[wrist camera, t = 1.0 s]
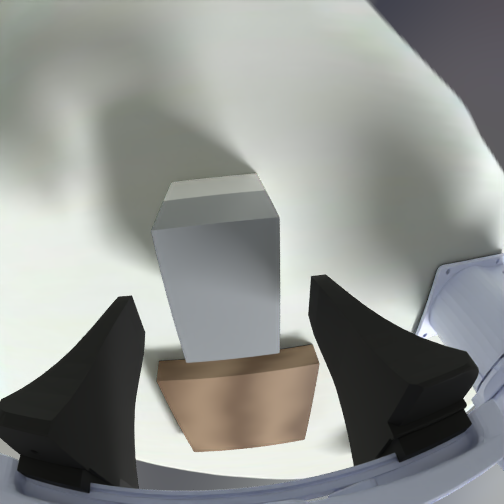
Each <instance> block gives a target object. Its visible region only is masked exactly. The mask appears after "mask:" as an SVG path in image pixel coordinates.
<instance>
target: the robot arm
mask: <svg viewBox="0 0 504 504" xmlns="http://www.w3.org/2000/svg"><path fill="white" fill-rule="evenodd" d="M308 316H309V319H310V323H311V327H312V330H313V333H314V336H315V339H316V341H317V343H318V346H319V348H320V351H321V353H322V355H323V357H324V360H325V362H326V364H327V367H328V369H329V371H330V374H331V376H332V378H333V381H334V384H335V387H336V390H337V394H338V397H339V401H340V404H341V408H342V412H343V416H344V420H345V424H346V428H347V433H348V437H349V442H350V447H351V452H352V458H353V464H354V466H353V467H350V468H346V469H343V470H339V471H335V472H331V473H327V474H323V475H319V476H315V477H310V478H305V479H300V480H295V481H290V482H284V483H278V484H272V485H264V486H257V487H247V488H237V489H226V490H206V491H205V490H204V491H168V490H166V491H165V490H147V489H139V486H138V478H137V471H136V459H135V439H134V419H135V402H136V395H137V389H138V383H139V378H140V372H141V367H142V361H143V356H144V345H145V331H144V328H143V325H142V323H141V320H140V317H139V314H138V311H137V309H136V306H135V303H134V300H133V297H132V296H122V297H118V298H117V299H116V300H115V301H114V302H113V303H112V304H111V306H110V307H109V308H108V309H107V310H106V312H105V313H104V314H103V315H102V316H101V317H100V319H99V320H98V321H97V322H96V323H95V325H94V326H93V327H92V328H91V329H90V330H89V331H88V333H87V334H86V335H85V336H84V337H83V338H82V339H81V340H80V341H79V342H78V343H77V345H76V346H75V347H74V348H73V349H72V350H71V351H70V352H69V353H67V354H66V355H65V356H64V357H63V358H62V359H61V360H60V361H59V362H58V363H56V364H55V365H54V366H53V367H51V368H50V369H49V370H48V371H46V372H45V373H44V374H43V375H41V376H40V377H38V378H37V379H36V380H34V381H33V382H31V383H30V384H28V385H26V386H25V387H23V388H22V389H20V390H18V391H16V392H14V393H13V394H11V395H9V396H7V397H5V398H3V399H1V401H0V438H1V439H2V440H3V441H4V442H6V443H7V444H8V445H9V446H10V447H12V448H13V449H14V450H15V451H16V452H18V453H19V454H20V459H19V460H17V459H15V458H13V457H11V456H8V455H5V454H2V453H0V504H432V503H434V502H436V501H438V500H440V499H442V498H444V497H445V496H447V495H449V494H451V493H453V492H454V491H456V490H458V489H459V488H461V487H462V486H464V485H466V484H468V483H469V482H471V481H472V480H474V479H475V478H477V477H478V476H480V475H481V474H483V473H484V472H485V471H487V470H489V469H490V468H491V467H493V466H494V465H495V464H498V465H499V466H500V467H501V468H502V469H503V471H504V253H501V254H497V255H492V256H487V257H482V258H477V259H472V260H467V261H462V262H456V263H451V264H446V265H442V266H440V267H439V268H438V270H437V273H436V276H435V279H434V282H433V286H432V289H431V292H430V295H429V298H428V301H427V304H426V307H425V310H424V312H423V315H422V318H421V321H420V323H419V326H418V328H417V331H416V334H413V333H411V332H409V331H406V330H404V329H402V328H400V327H399V326H397V325H395V324H393V323H391V322H390V321H388V320H386V319H384V318H383V317H381V316H380V315H378V314H377V313H375V312H374V311H372V310H371V309H369V308H368V307H366V306H365V305H364V304H362V303H361V302H360V301H358V300H357V299H356V298H354V297H353V296H352V295H350V294H349V293H348V292H347V291H345V290H344V289H343V288H342V287H341V286H339V285H338V284H337V283H336V282H334V281H333V280H332V279H331V278H329V277H328V276H327V275H326V274H325V275H318V276H311V286H310V299H309V312H308ZM434 335H438V336H439V338H440V339H441V340H442V342H443V343H444V345H445V346H444V345H441V344H438V343H435V342H433V341H430V340H427V339H425V338H428V337H431V336H434ZM472 386H473V388H474V390H475V391H476V395H475V396H474V397H473V398H472V402H473V404H474V405H475V409H474V410H472V411H471V412H470V413H468V414H466V412H465V410H464V409H465V408H466V406H467V404H466V402H465V401H464V399H463V398H464V397H465V395H466V394H467V392H468V391H469V390H470V388H471V387H472ZM326 495H329V496H328V498H326V499H321V500H315V501H309V502H307V501H305V500H310V499H314V498H319V497H323V496H326Z"/></svg>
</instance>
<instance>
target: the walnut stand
mask: <svg viewBox="0 0 504 504" xmlns="http://www.w3.org/2000/svg"><path fill="white" fill-rule="evenodd" d="M318 369H319V361H318V358H317V355H316V352H315V350H314V347H313V344H312V345H306V346H299V347H293V348H286V349H280V353H276V354H269V355H262V356H254V357H245V358H236V359H227V360H216V361H205V362H192V363H186V360H168V361H159V364H158V373H157V383H158V385H159V387H160V389H161V391H162V393H163V395H164V397H165V399H166V401H167V403H168V405H169V407H170V409H171V411H172V413H173V415H174V417H175V419H176V421H177V422H178V424H179V426H180V428H181V430H182V432H183V433H184V435H185V437H186V439H187V440H188V442H189V444H190V446H191V447H192V449H193V451H194V452H205V451H222V450H234V449H244V448H253V447H261V446H269V445H276V444H282V443H288V442H294V441H299V440H304V439H305V436H306V431H307V426H308V422H309V417H310V412H311V407H312V402H313V397H314V391H315V386H316V380H317V375H318Z"/></svg>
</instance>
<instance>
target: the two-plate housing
mask: <svg viewBox="0 0 504 504" xmlns="http://www.w3.org/2000/svg"><path fill="white" fill-rule="evenodd" d="M151 232H152V237H153V241H154V246H155V250H156V254H157V259H158V263H159V267H160V271H161V275H162V279H163V283H164V287H165V291H166V295H167V298H168V302H169V306H170V309H171V313H172V316H173V320H174V323H175V327H176V330H177V334H178V337H179V340H180V344H181V347H182V350H183V353H184V356H185V360H186V363H192V362H205V361H216V360H227V359H236V358H245V357H254V356H262V355H269V354H276V353H280V219H279V215H278V213H277V211H276V209H275V207H274V205H273V203H272V201H271V199H270V197H269V196H268V194H267V192H266V190H265V188H264V186H263V184H262V182H261V180H260V178H259V176H258V174H257V173H254V174H242V175H231V176H221V177H211V178H202V179H193V180H185V181H177V182H172V183H171V185H170V187H169V189H168V192H167V194H166V196H165V199H164V201H163V203H162V206H161V208H160V210H159V213H158V215H157V218H156V220H155V222H154V225H153V227H152V230H151Z"/></svg>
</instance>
